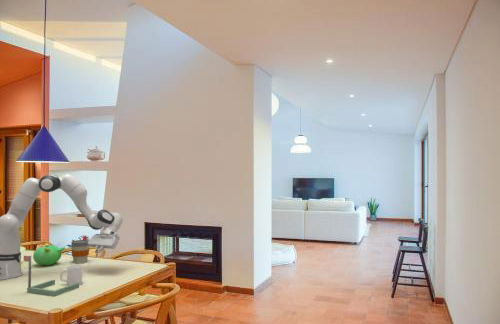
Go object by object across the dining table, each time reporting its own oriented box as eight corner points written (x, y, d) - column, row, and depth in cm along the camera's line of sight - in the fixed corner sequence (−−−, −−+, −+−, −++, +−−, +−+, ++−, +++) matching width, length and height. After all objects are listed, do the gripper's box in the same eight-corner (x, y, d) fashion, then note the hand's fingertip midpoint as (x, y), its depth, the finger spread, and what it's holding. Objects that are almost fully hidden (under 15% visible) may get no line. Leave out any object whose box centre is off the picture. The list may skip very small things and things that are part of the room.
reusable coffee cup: (66, 262, 288) (67, 241, 289) (82, 259, 299) (82, 239, 299) (77, 265, 282) (78, 243, 282) (93, 261, 292) (93, 241, 293)
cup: (81, 284, 233) (82, 267, 233) (59, 286, 229) (59, 268, 229) (82, 281, 241) (82, 264, 241) (60, 283, 236) (60, 265, 237)
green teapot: (52, 261, 293) (52, 240, 293) (67, 264, 284) (67, 243, 285) (28, 266, 277) (28, 244, 278) (42, 269, 269) (43, 247, 269)
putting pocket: (47, 283, 235) (48, 249, 236) (78, 287, 228) (79, 252, 228) (21, 291, 219) (22, 255, 219) (54, 296, 211) (55, 258, 212)
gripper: (92, 230, 266) (81, 248, 256) (118, 232, 259) (107, 250, 249) (96, 236, 270) (86, 254, 260) (122, 238, 263) (112, 256, 254)
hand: (96, 252), depth 255 cm, fingers closed
